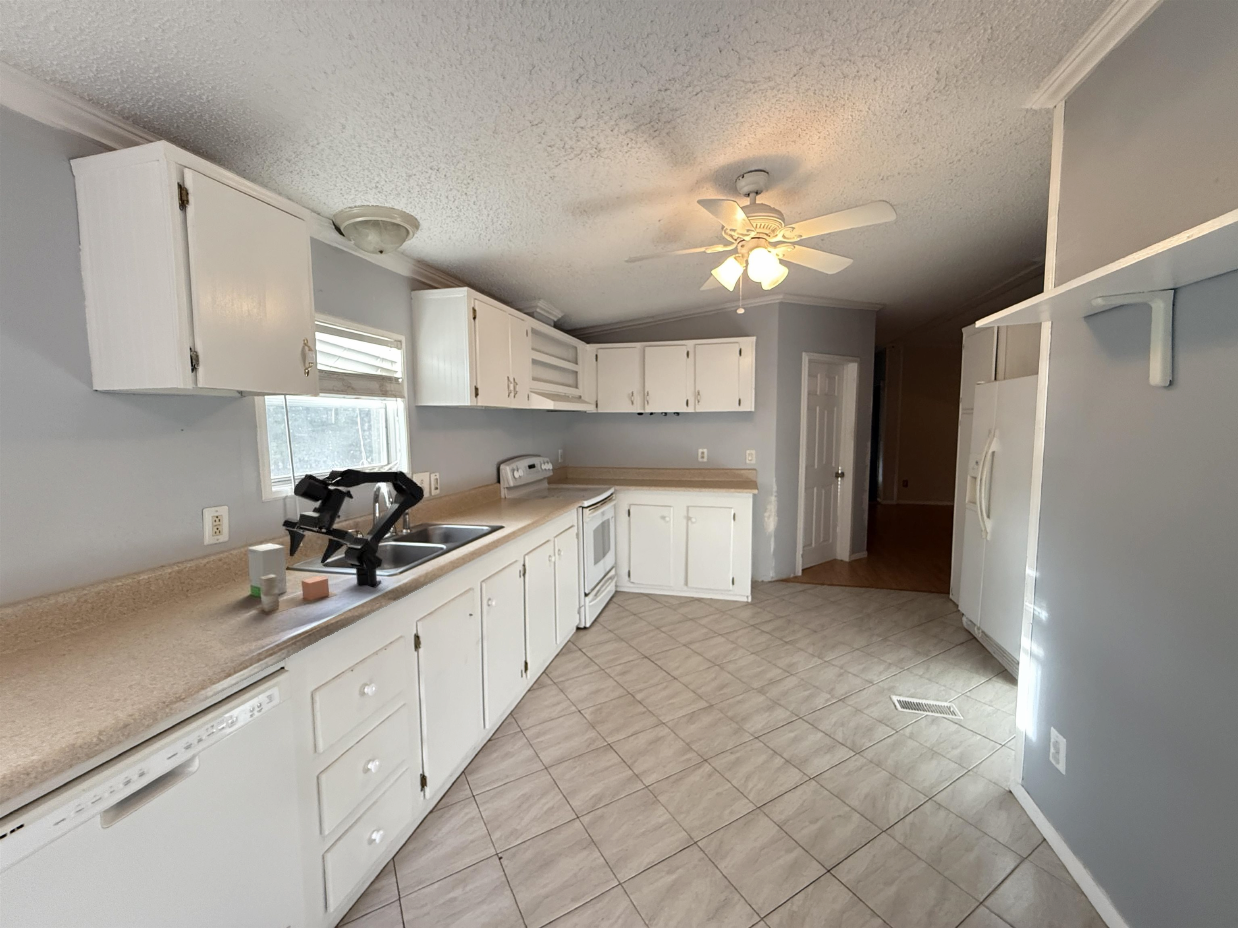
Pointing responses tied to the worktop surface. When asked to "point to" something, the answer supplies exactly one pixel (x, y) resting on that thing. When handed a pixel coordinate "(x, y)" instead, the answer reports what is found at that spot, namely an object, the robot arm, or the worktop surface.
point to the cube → (315, 587)
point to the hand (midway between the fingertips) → (306, 559)
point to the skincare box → (267, 566)
